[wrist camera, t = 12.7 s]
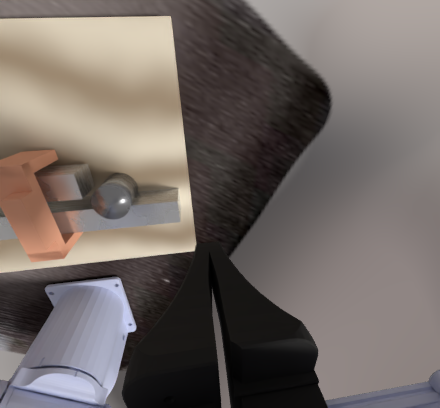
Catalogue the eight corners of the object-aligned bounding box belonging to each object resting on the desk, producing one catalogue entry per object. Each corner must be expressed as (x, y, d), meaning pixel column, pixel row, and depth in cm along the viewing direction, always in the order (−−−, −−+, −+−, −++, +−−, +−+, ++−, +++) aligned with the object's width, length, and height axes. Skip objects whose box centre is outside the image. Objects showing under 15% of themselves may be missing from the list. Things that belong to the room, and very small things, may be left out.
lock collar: (85, 229, 21) (56, 269, 17) (58, 232, 21) (21, 273, 16) (54, 149, 18) (7, 171, 13) (21, 151, 18) (-39, 174, 13)
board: (196, 245, 25) (196, 250, 24) (-23, 269, 23) (-31, 276, 22) (171, 20, 16) (170, 16, 15) (-197, 26, 14) (-223, 22, 13)
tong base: (181, 206, 22) (180, 224, 19) (-60, 229, 20) (-101, 253, 17) (175, 168, 20) (174, 181, 17) (-90, 188, 18) (-141, 207, 15)
